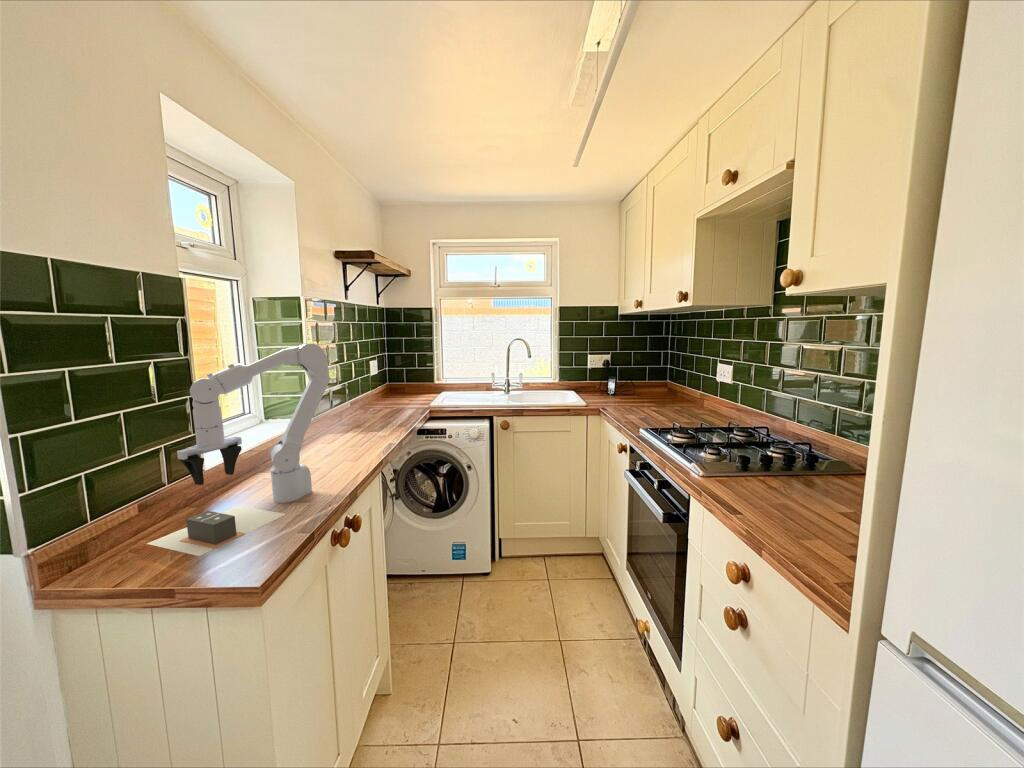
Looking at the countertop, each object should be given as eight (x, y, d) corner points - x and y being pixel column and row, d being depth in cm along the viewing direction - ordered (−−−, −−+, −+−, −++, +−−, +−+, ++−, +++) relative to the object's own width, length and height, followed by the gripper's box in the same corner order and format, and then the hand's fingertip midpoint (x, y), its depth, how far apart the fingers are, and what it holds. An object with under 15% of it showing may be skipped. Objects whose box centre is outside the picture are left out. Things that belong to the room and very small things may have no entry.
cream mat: (238, 508, 111) (238, 505, 111) (286, 516, 105) (286, 513, 105) (146, 546, 91) (146, 542, 91) (199, 558, 85) (199, 555, 85)
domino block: (236, 535, 94) (234, 515, 93) (215, 544, 90) (213, 524, 89) (209, 529, 97) (207, 510, 97) (188, 538, 93) (186, 518, 92)
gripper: (226, 419, 112) (231, 468, 114) (166, 432, 99) (173, 487, 101) (245, 421, 110) (250, 471, 112) (186, 433, 97) (192, 490, 98)
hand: (215, 479), depth 106 cm, fingers open, 7 cm apart
